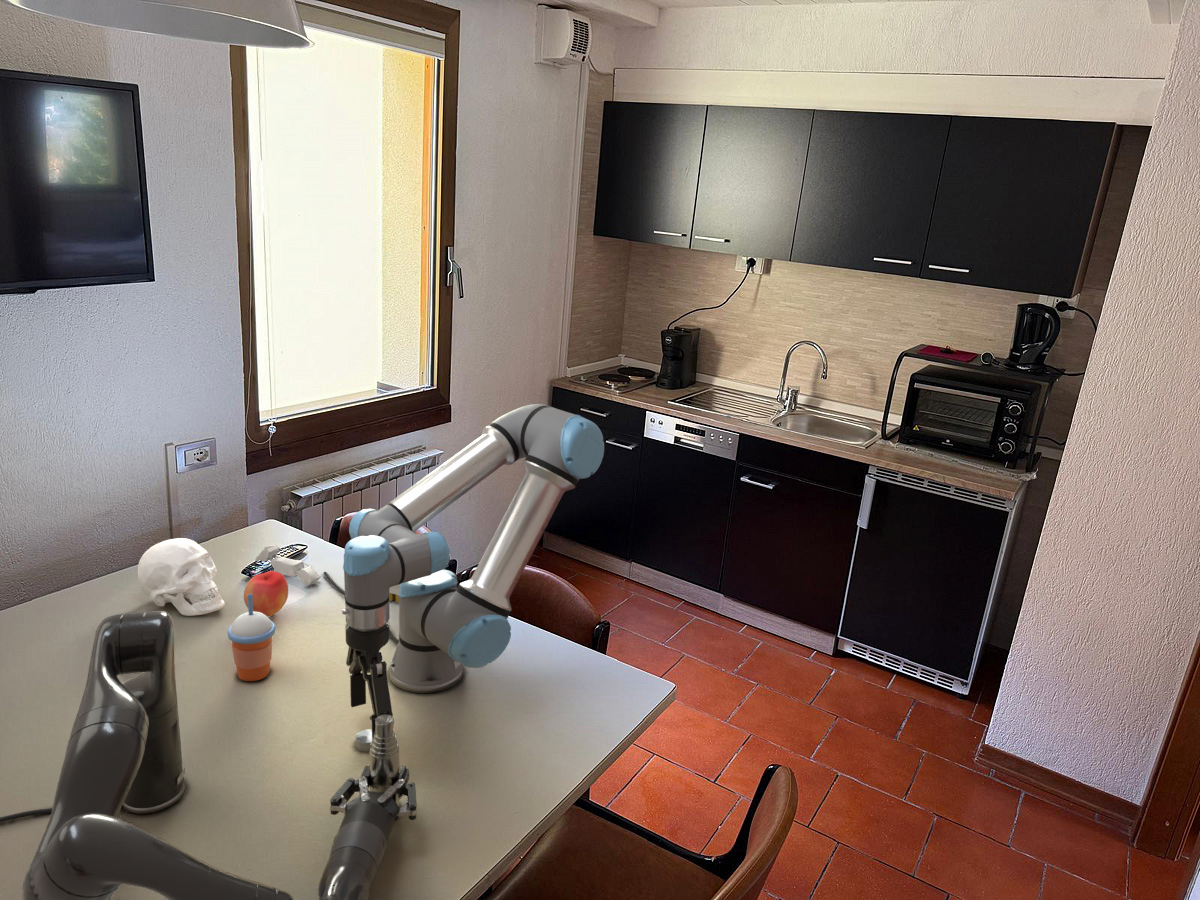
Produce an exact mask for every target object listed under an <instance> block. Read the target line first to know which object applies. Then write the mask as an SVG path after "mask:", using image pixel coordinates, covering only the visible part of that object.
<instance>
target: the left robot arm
mask: <svg viewBox="0 0 1200 900" xmlns="http://www.w3.org/2000/svg"><path fill="white" fill-rule="evenodd" d="M175 663H176V662H175V629H174V622H173V620H172V617H171V615H170V614H169V613H168V612H167V611H165V610H156V611H155V610H154V611H142V612H141V611H140V612H132V613H120V614H114V615H110V616H107V617H105V618H104V619H102V620H101V621H100V623H99V624H98V627H97V628H96V631H95V635H94V639H93V644H92V649H91V655H90V661H89V666H88V672H87V678H86V683H85V687H84V690H83V694H82V698H81V701H80V704H79V707H78V710H77V713H76V716H75V719H74V722H73V724H72V727H71V731H70V735H69V738H68V741H67V745H66V749H65V754H64V759H63V763H62V766H61V770H60V774H59V778H58V780H57V785H56V790H55V794H54V800H53V805H52V807H51V808H50V807H49V808H39V809H33V810H27V811H22V812H17V813H13V814H9V815H3V816H0V823H5V822H9V821H13V820H16V819H20V818H25V817H26V818H27V817H31V816H37V815H38V816H39V815H48V814H50V816H49V819H48V823H47V825H46V828H45V830H44V833H43V835H42V837H41V840H40V843H39V845H38V848H37V850H36V852H35V854H34V856H33V859H32V861H31V863H30V865H29V868H28V870H27V871H26V874H25V877H24V879H23V883H22V889H21V890H22V892H21V898H22V900H110V898H111V897H112V896H113V894H114V893H115V892H116V891H117V890H118V888H119V887H120V886H121V885H129V886H134V887H139V888H144V889H147V890H150V891H153V892H155V893H158V894H159V895H161V896H163V897H164V898H165V899H166V900H294V897H293V896H292V895H291V894H290V893H289V892H287V891H285V890H283V889H281V888H278V887H274V886H271V885H267V884H265V883H261V882H259V881H255V880H250V879H248V878H245V877H242V876H240V875H239V876H238V875H235V874H233V873H230V872H228V871H225V870H222V869H220V868H217V867H215V866H213V865H211V864H209V863H207V862H205V861H203V860H201V859H200V858H198V857H196V856H194V855H192V854H190V853H188V852H186V851H184V850H182V849H181V848H178V847H177V846H176V845H173V844H171V843H169V842H167V841H166V840H163V839H161V838H159V837H157V836H155V835H154V834H153V833H151V832H148V831H146V830H144V829H142V828H140V827H138V826H136V825H135V824H132V823H130V822H128V821H126V820H123V819H121V818H119V817H118V816H119V813H120V811H121V809H122V808H123V809H124V810H125V811H127V812H129V813H132V814H135V815H136V814H137V815H138V814H139V815H144V814H145V815H147V814H153V813H157V812H160V811H163V810H165V809H167V808H169V807H172V806H173V805H174V804H175V803H177V802H178V801H179V800H180V799H181V797H183V796H184V793H185V790H186V784H185V783H186V782H185V777H184V776H185V775H186V772H187V771H186V767H184V768H183V756H182V741H181V730H180V716H179V705H178V704H179V703H178V695H177V680H176V669H175V668H176V665H175ZM138 673H139V674H140V673H143V674H141V675H139V676H136V677H134V678H131V679H130V680H127V681H125V682H124V683H122V682H121V680H120V678H119V677H118V676H120V675H130V674H138ZM409 779H410V768H407V765H405V764H401V767H400V768H399V775H398V778H397V782H396V783H395V784H394V785H393V786H392V785H391V786H390V787H389V788H388V789H387V790H386V792H374V791H370V790H369V789H370V763H369V764H368V765H366V766H365V767H364V768H363V770H362V772H361V775H360V777H358V778H357V779H355V778H353V777H350V778H347V779H346V781H345V782H344V783H342V785H341V786H340V788H338V790H336V792H335V793H334V794H333V796H332V797H331V798H330V814H331V816H332V815H333V816H335V815H338V814H339V813H342V814H344V816H343V819H342V821H341V824H340V826H339V829H338V830H337V833H336V835H335V836H334V838H333V842H332V846H331V847H330V848H331V849H330V852H329V857H328V859H327V861H326V864H325V867H324V869H323V872H322V874H321V877H320V880H319V883H318V889H317V894H318V895H317V896H318V900H370V896H369V895H370V894H369V893H370V890H371V887H372V885H373V881H374V879H375V876H376V873H377V871H378V869H379V867H380V866H381V863H382V860H383V858H384V854H385V853H386V848H387V846H388V843H389V839H390V837H391V833H392V831H393V827H394V826H395V825H394V824H395V823H396V822H397V821H398V820H400V818H404V817H408V819H409V820H410V821H414V820H416V819H417V814H418V813H417V810H418V809H417V808H418V807H417V806H418V805H417V789H416V783H415V782H413V781H411V782H409ZM355 793H358V795H359V796H357V797H356V798H354V799H352V800H351V801H350V799H351V798H352V797H353V796H354V795H355ZM405 796H406V797H407V799H406V800H405V802H404V803H403V805H402V807H400V806H399V807H398V802H399V803H400V800H401V799H402V798H403V797H405Z"/></svg>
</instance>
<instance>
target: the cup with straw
mask: <svg viewBox="0 0 1200 900" xmlns="http://www.w3.org/2000/svg"><path fill="white" fill-rule="evenodd" d="M275 632H276V624H275V623H274V621H272V620H271V619H270V618H269V617H267V616H266V615H265V614H263V613H260V612H255V611H253V598H252V594H249V595H248V607H247V611H246V612H244V613H242V614H240V615H238V616H237V617H236V618H235V619H234V620H233V622H232V623H231V625H230V626H229V627H228V629H227V633H226V634H227V637H228V639H229V640H230V642H231V650H232V656H233V661H234V665H235V668H236V675H237V677H238V678H239V679H240V680H241V681H245V682H256V681H260V680H262V679H264V678H266V677H267V676H268V675H270V670H271V660H272V658H273V657H272V656H273V641H274V638H273V636H274V635H275Z"/></svg>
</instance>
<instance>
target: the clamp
mask: <svg viewBox="0 0 1200 900" xmlns="http://www.w3.org/2000/svg"><path fill="white" fill-rule="evenodd" d="M280 549H281V547H279V546H278V545H277V544H272V545H266V546H264V547H263V549H262V550H261V551H260V552H259V554H258V555H257V556H256V557H255V559H254V562H255V563H256V561H259V560H262V561H268V560H271V562H270V563H269V564H271V565H272V566H273V568H274V571H275V572H278V573H281V574H282V575H283V576H288V577H292V578H296V577H298V578H299V579H300V580H301V582H303V584H304V585H305V587H309V586H312V585H314V584H316V583H318V582H319V580H320V579H321V578H322V577H321V575H320V574H319V573H318V572H317V570H315V569H314V568H313V566H312V565H310V564H309V565H308V564H307V563H305V562H304V561H303V560H301V559H300V560H299V559H292V558H289V557H285V556H278V553H279V551H280ZM273 558H274V559H273ZM272 559H273V560H272ZM305 566H306V567H305ZM270 571H271V570H270Z"/></svg>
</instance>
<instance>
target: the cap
mask: <svg viewBox="0 0 1200 900" xmlns="http://www.w3.org/2000/svg"><path fill="white" fill-rule="evenodd" d="M371 743H372V729H363V730H361V731H358V732H357V733H356V735H355V748H356V750H358V751H359V752H365V753H367V752H370V745H371Z"/></svg>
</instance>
